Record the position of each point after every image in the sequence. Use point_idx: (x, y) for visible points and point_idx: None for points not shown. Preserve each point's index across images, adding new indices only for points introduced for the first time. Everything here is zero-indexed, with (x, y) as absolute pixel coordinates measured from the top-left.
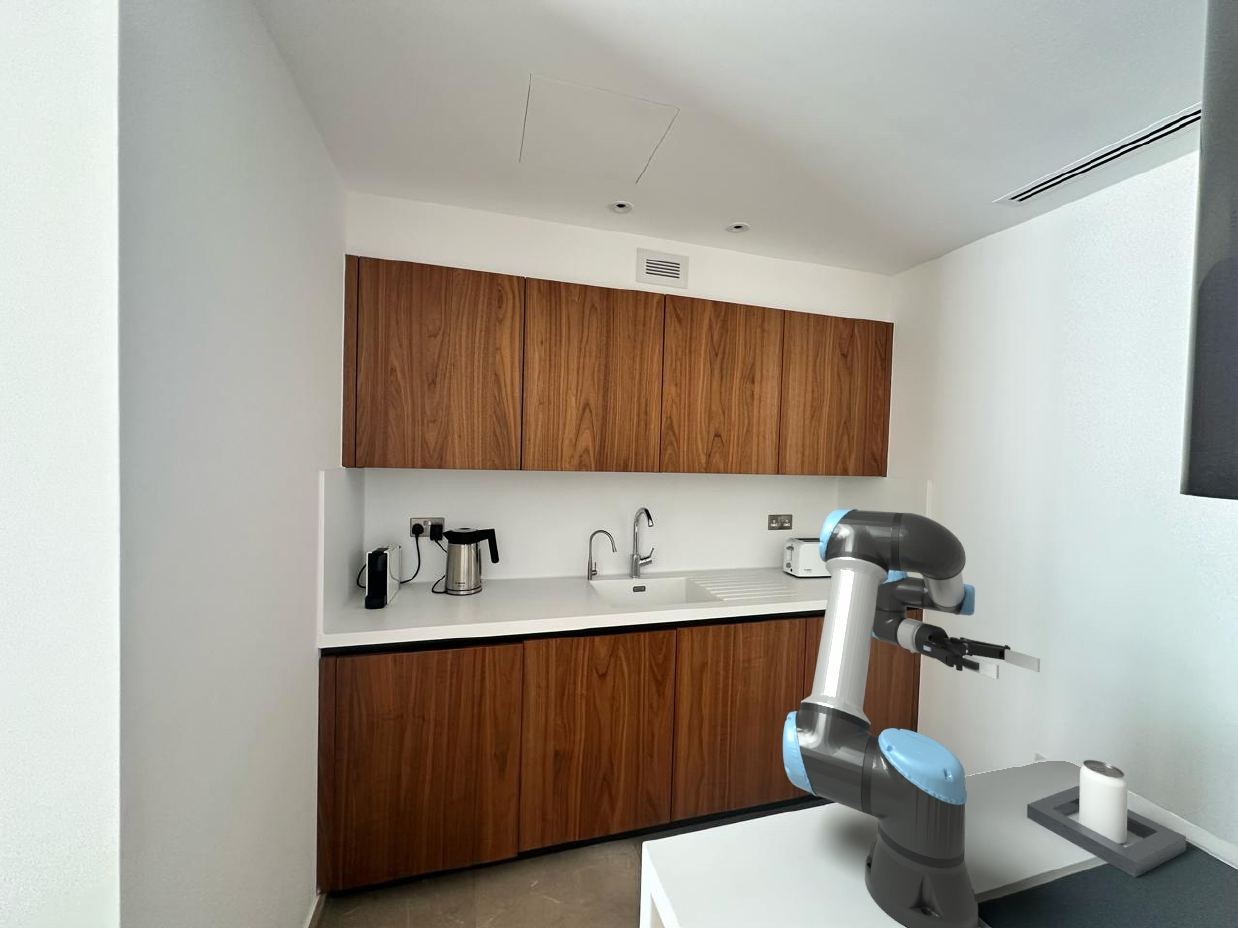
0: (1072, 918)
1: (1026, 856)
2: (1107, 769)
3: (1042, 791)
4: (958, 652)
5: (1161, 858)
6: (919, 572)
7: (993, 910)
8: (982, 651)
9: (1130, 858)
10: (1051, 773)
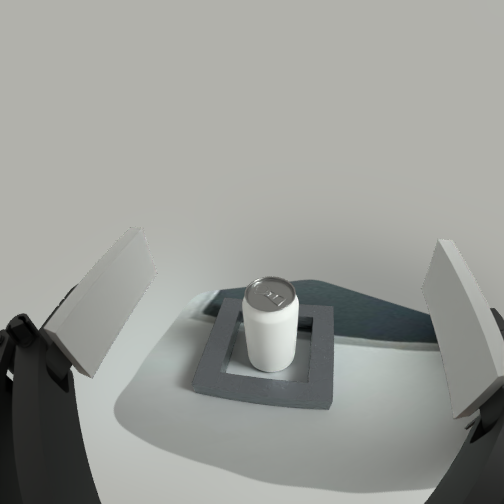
0: None
1: (409, 368)
2: (261, 293)
3: (221, 426)
4: (499, 446)
5: None
6: None
7: None
8: (70, 466)
9: (331, 309)
10: (142, 428)
